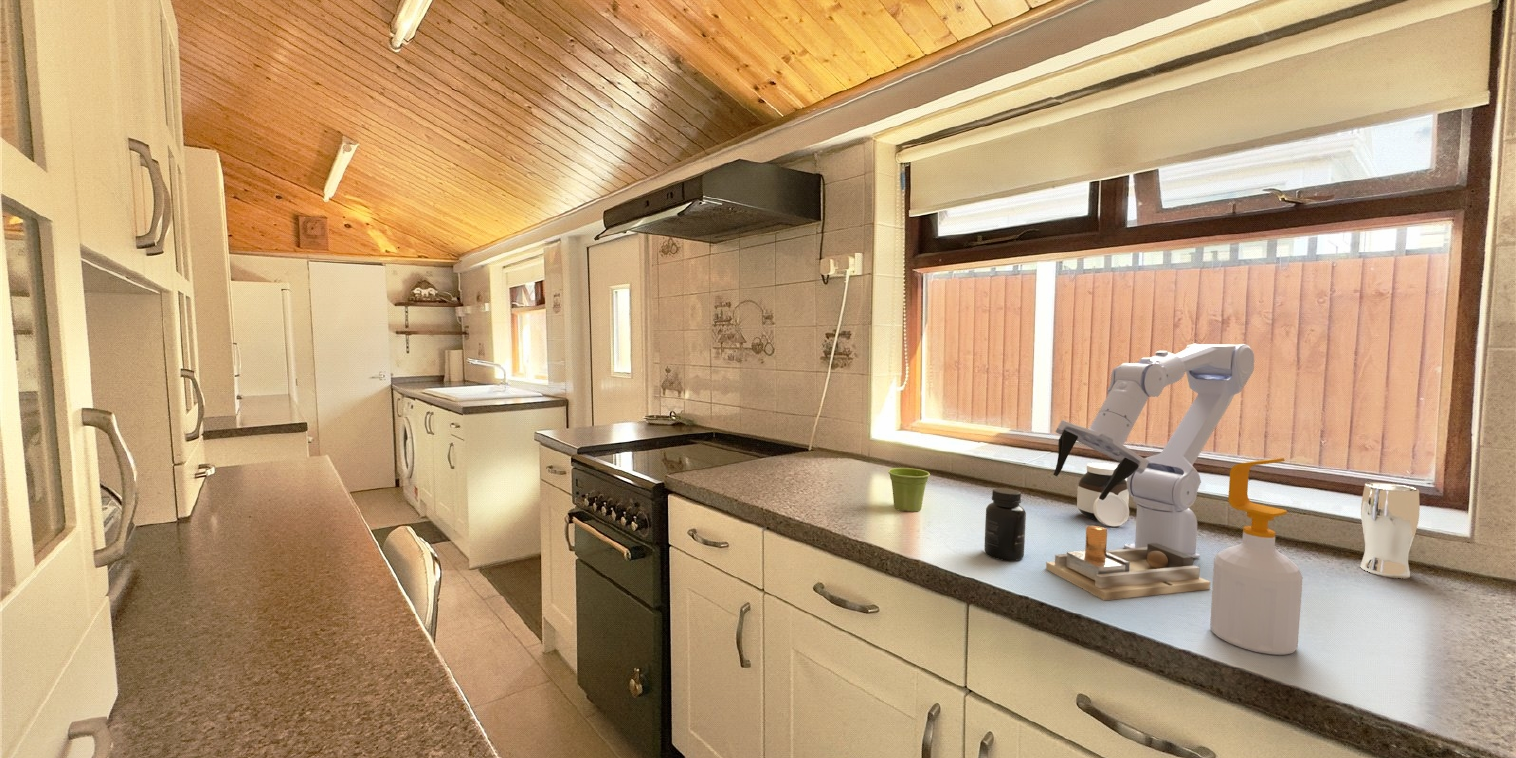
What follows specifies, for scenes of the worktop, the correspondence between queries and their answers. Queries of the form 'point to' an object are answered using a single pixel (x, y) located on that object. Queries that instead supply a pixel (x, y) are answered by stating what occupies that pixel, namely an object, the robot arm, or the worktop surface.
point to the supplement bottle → (1005, 526)
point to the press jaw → (1096, 556)
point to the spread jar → (1090, 489)
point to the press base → (1138, 574)
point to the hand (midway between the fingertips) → (1078, 485)
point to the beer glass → (1388, 527)
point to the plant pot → (908, 488)
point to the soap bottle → (1255, 580)
